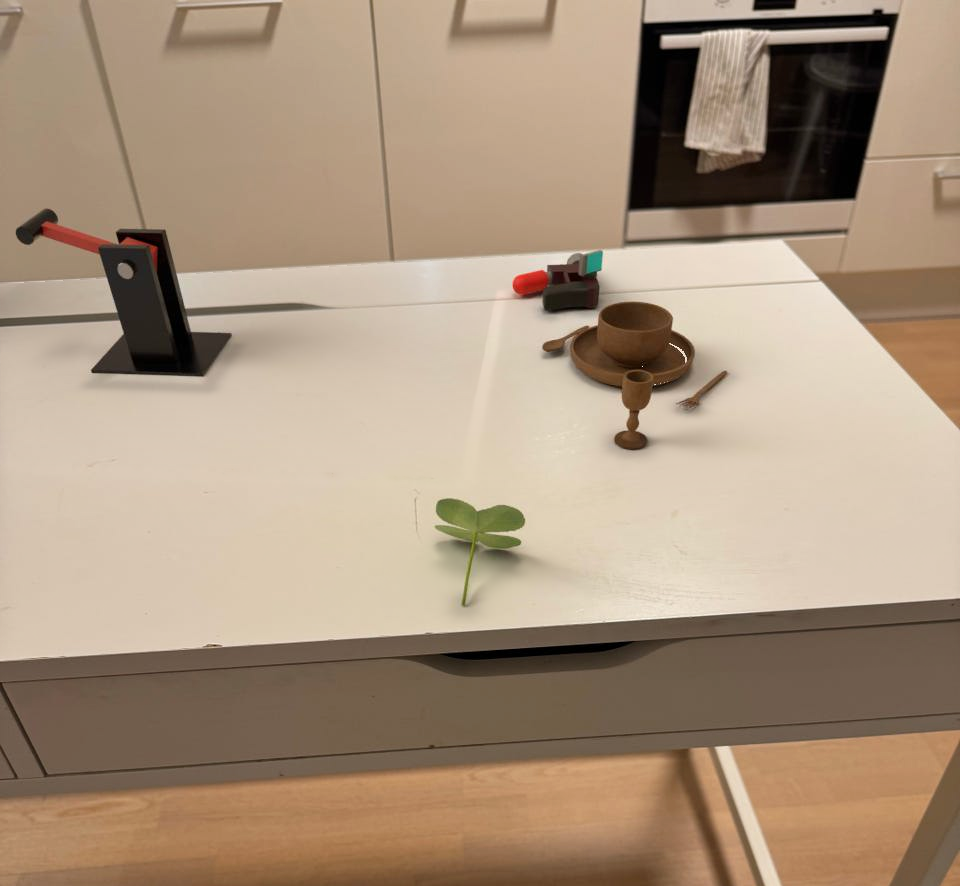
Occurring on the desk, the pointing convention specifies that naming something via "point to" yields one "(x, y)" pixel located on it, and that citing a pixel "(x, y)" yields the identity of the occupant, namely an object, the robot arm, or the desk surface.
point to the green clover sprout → (479, 526)
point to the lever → (66, 234)
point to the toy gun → (565, 282)
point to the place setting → (632, 357)
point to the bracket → (152, 312)
